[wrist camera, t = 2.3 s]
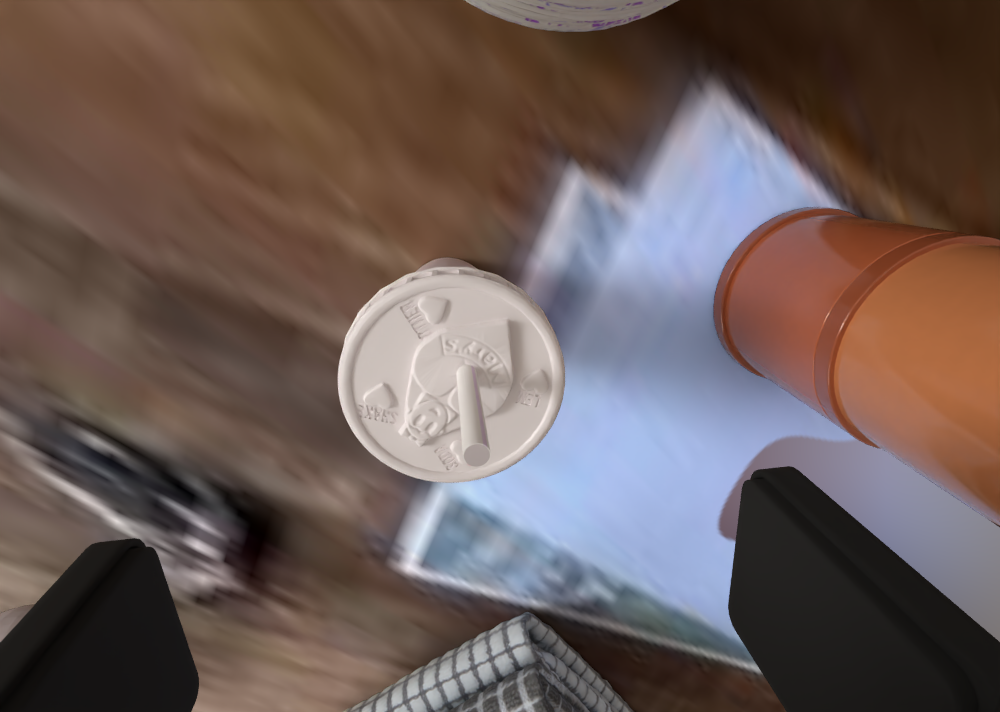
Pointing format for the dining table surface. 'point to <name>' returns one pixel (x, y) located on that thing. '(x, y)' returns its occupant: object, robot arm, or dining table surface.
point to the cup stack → (878, 336)
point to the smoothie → (451, 373)
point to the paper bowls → (571, 12)
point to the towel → (502, 677)
